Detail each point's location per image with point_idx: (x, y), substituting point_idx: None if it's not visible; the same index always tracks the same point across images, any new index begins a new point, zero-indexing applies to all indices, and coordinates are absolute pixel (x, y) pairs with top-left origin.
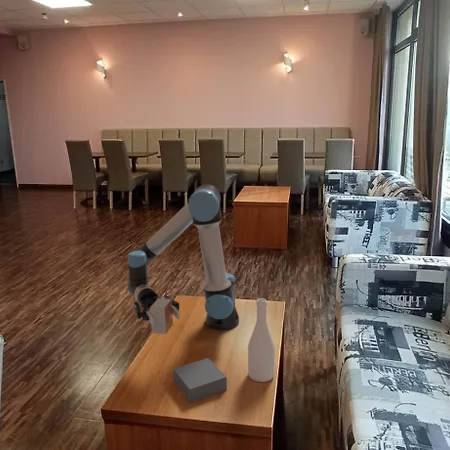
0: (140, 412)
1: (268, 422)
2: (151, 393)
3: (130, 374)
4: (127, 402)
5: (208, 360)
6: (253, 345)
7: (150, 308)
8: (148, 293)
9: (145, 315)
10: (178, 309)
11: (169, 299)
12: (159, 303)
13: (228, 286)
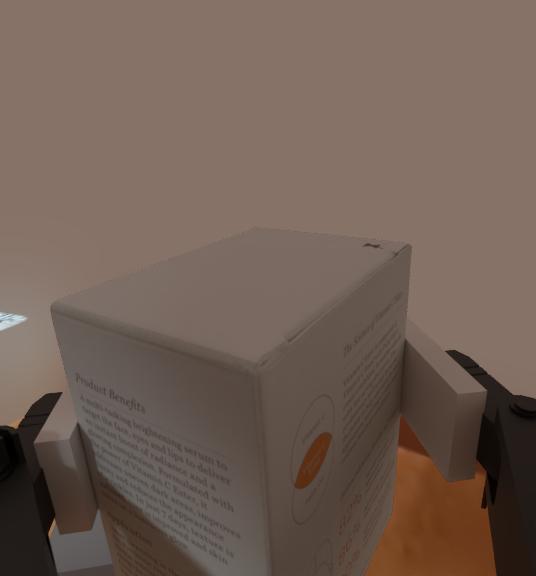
0: (419, 454)
1: None
2: (386, 535)
3: None
4: (486, 511)
5: (55, 551)
6: None
7: (408, 261)
8: None
9: (478, 377)
10: (41, 399)
11: (84, 299)
12: (284, 259)
13: None
